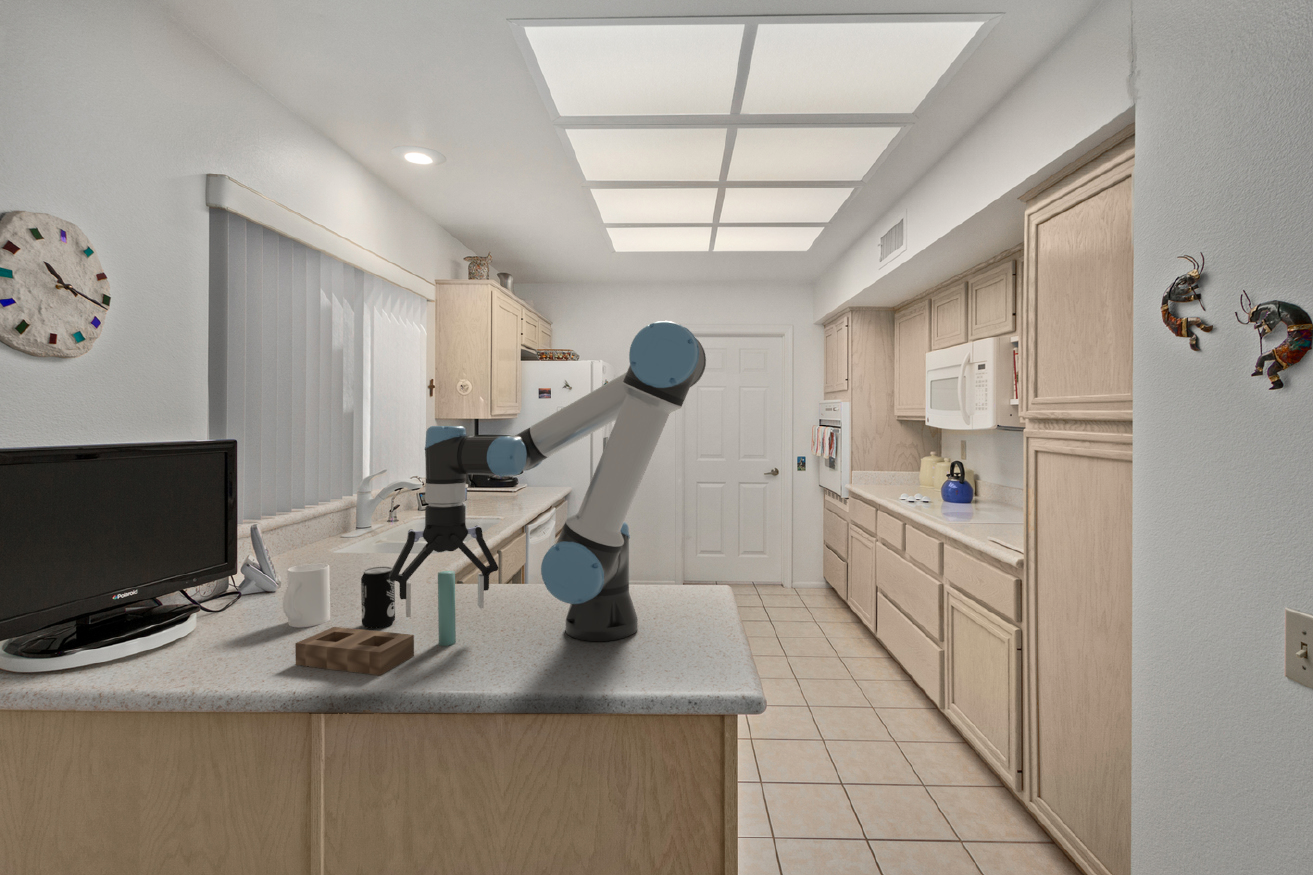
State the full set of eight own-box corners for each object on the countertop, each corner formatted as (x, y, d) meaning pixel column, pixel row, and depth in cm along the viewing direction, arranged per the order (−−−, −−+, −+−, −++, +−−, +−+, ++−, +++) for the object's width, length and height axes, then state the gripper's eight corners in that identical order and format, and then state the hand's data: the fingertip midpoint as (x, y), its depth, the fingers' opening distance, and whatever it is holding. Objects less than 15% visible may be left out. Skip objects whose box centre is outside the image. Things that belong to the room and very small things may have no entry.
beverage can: (382, 630, 127) (381, 573, 126) (354, 628, 128) (354, 572, 128) (401, 620, 133) (400, 566, 133) (375, 618, 134) (374, 565, 134)
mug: (265, 633, 125) (264, 576, 125) (302, 615, 137) (301, 563, 137) (304, 634, 125) (303, 576, 124) (337, 616, 137) (336, 563, 136)
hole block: (414, 655, 113) (413, 634, 112) (380, 675, 104) (380, 652, 104) (334, 647, 117) (334, 626, 117) (295, 665, 108) (295, 643, 108)
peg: (459, 640, 120) (458, 571, 120) (449, 646, 117) (448, 575, 117) (444, 639, 121) (444, 570, 121) (435, 645, 118) (434, 574, 118)
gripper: (505, 498, 127) (505, 598, 128) (375, 504, 117) (375, 613, 117) (513, 503, 121) (512, 608, 121) (375, 509, 110) (375, 624, 111)
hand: (445, 611), depth 119 cm, fingers open, 13 cm apart
